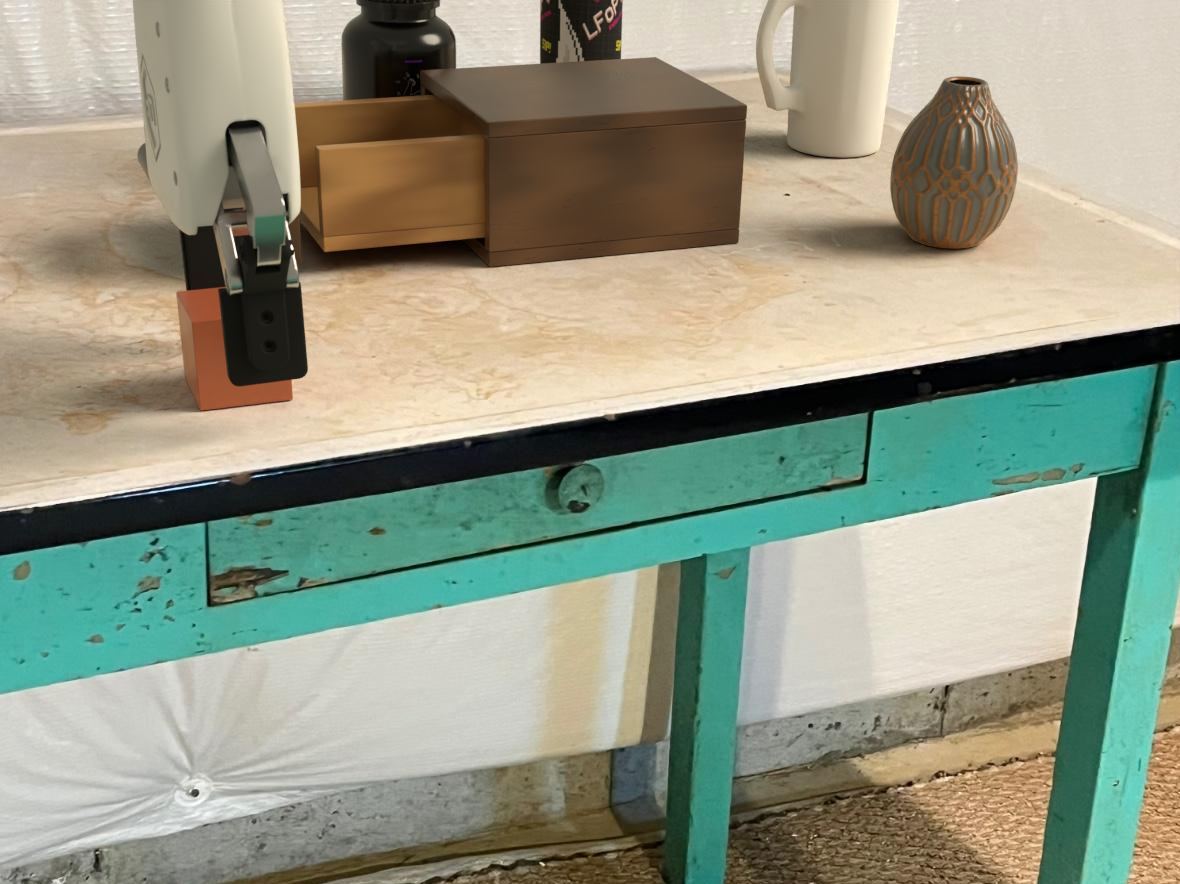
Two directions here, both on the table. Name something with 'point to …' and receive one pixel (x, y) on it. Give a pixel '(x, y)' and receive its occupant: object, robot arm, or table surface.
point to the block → (215, 356)
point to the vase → (954, 168)
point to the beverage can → (580, 30)
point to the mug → (831, 73)
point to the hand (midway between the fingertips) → (245, 340)
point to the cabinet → (599, 157)
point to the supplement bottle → (394, 48)
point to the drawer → (386, 173)
